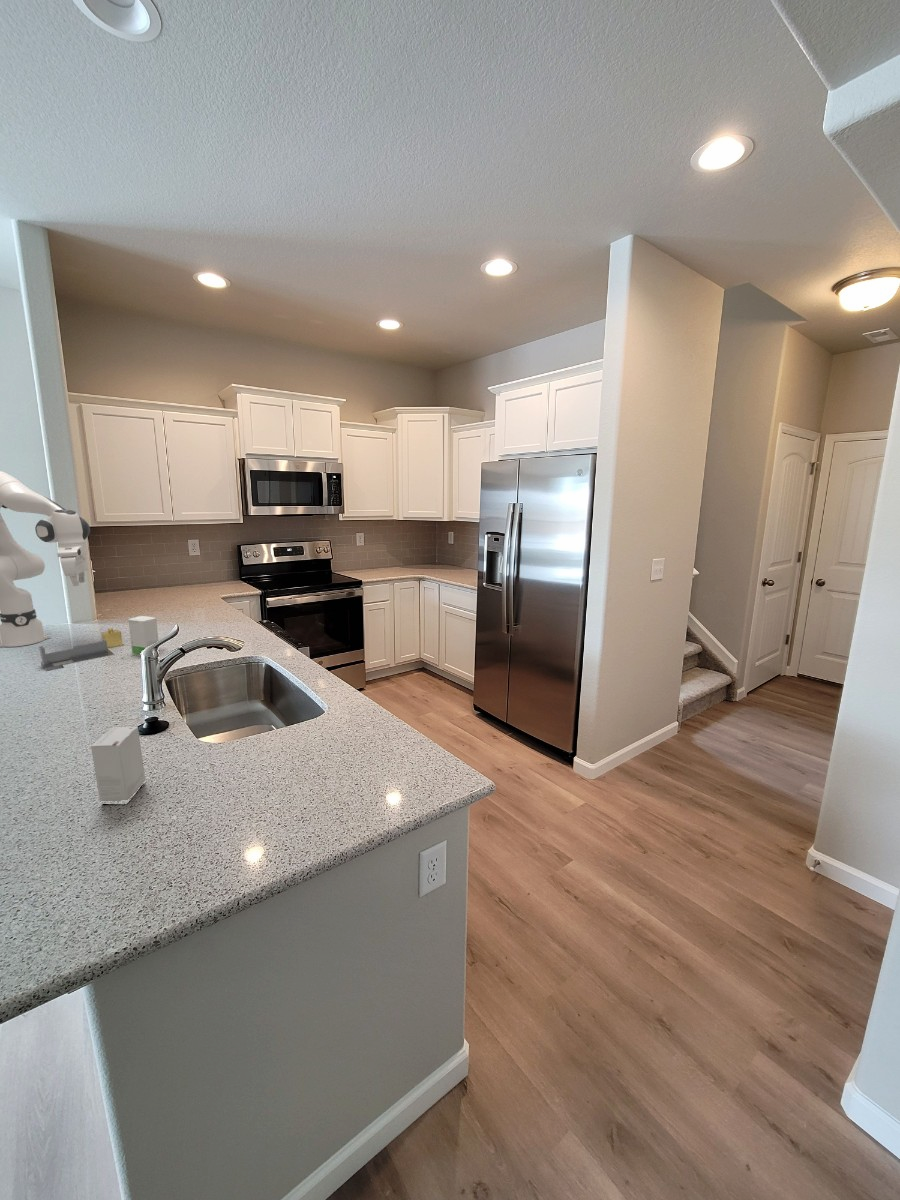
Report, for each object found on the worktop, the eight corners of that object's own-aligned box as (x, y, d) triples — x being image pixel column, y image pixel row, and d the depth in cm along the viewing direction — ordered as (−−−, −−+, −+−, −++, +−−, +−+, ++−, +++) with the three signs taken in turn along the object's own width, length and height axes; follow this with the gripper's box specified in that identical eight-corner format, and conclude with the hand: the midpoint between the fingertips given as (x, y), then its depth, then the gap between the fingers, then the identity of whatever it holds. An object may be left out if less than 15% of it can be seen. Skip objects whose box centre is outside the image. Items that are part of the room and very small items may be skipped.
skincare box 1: (120, 784, 114) (111, 726, 110) (148, 783, 114) (139, 724, 111) (99, 807, 105) (88, 744, 102) (128, 805, 106) (118, 743, 103)
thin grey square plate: (101, 648, 211) (101, 645, 210) (120, 644, 216) (120, 642, 215) (105, 651, 207) (105, 648, 206) (124, 647, 212) (124, 645, 211)
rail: (41, 664, 190) (37, 645, 189) (107, 651, 206) (104, 633, 205) (46, 671, 184) (42, 650, 182) (114, 656, 200) (111, 638, 198)
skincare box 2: (131, 655, 201) (126, 619, 198) (145, 650, 207) (140, 615, 204) (147, 657, 199) (142, 620, 195) (161, 652, 205) (156, 616, 202)
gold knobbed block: (103, 645, 210) (100, 629, 209) (119, 642, 215) (116, 626, 213) (106, 648, 207) (103, 631, 205) (122, 645, 211) (120, 628, 210)
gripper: (70, 548, 205) (76, 581, 208) (55, 553, 187) (62, 588, 190) (88, 547, 208) (94, 579, 211) (75, 552, 190) (82, 587, 192)
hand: (79, 584), depth 200 cm, fingers open, 8 cm apart
